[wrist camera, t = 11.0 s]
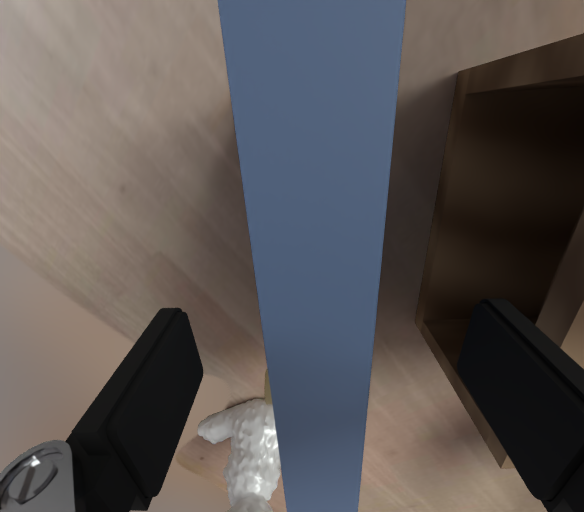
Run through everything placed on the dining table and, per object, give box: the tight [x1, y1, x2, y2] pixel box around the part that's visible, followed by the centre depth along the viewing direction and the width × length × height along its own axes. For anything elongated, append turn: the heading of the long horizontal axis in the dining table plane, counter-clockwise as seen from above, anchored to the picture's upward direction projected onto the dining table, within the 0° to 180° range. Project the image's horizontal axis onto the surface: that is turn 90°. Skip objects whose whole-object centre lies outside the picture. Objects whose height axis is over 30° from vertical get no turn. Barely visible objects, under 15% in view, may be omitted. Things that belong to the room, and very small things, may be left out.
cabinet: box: [415, 33, 584, 469], centre depth 14 cm, size 18×10×11 cm, turn 3°
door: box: [218, 0, 406, 512], centre depth 14 cm, size 18×4×12 cm, turn 3°
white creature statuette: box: [198, 398, 281, 512], centre depth 24 cm, size 10×9×12 cm
